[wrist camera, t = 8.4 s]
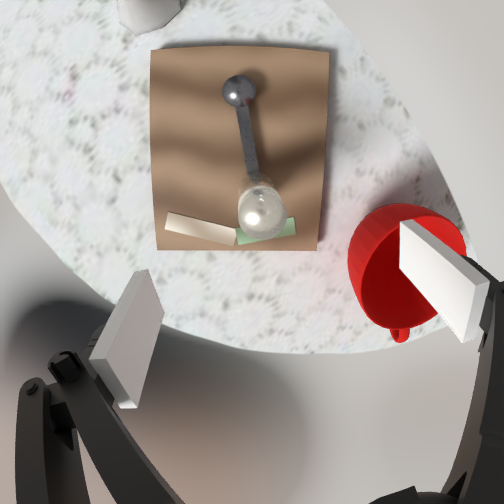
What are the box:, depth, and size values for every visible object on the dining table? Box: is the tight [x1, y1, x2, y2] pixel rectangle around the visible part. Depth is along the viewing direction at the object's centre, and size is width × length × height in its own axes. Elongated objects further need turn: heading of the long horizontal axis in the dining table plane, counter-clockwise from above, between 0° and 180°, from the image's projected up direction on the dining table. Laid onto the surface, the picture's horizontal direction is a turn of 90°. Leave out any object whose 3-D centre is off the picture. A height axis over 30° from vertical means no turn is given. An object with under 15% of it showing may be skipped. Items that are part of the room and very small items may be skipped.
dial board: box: [150, 46, 329, 251], centre depth 32 cm, size 22×18×2 cm
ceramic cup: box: [348, 203, 467, 343], centre depth 34 cm, size 13×17×10 cm
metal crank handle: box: [222, 75, 287, 240], centre depth 27 cm, size 16×4×10 cm, turn 9°
